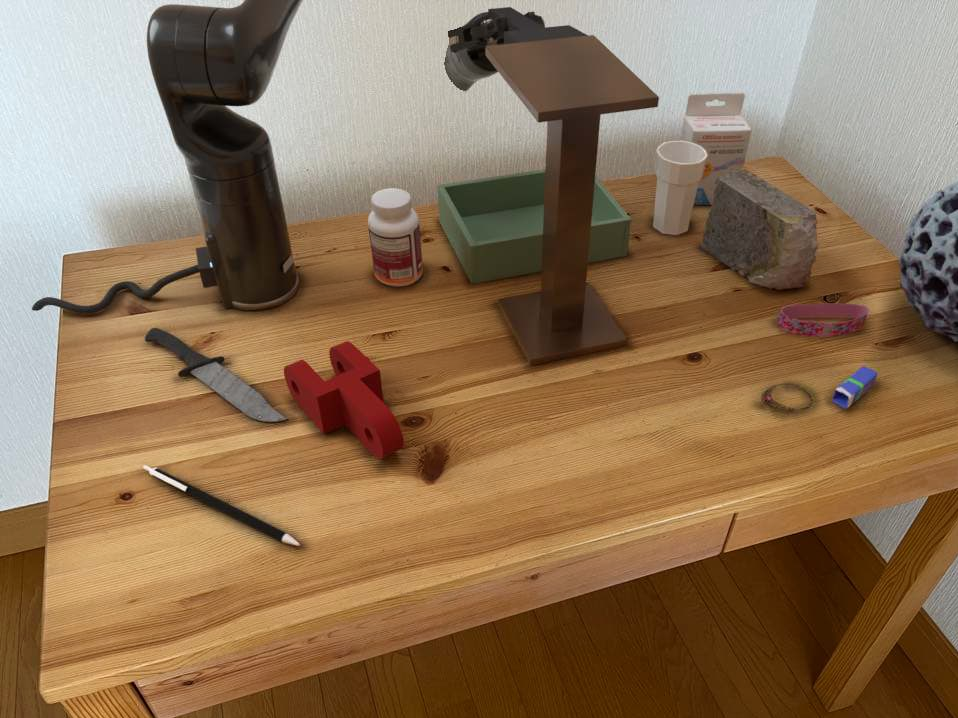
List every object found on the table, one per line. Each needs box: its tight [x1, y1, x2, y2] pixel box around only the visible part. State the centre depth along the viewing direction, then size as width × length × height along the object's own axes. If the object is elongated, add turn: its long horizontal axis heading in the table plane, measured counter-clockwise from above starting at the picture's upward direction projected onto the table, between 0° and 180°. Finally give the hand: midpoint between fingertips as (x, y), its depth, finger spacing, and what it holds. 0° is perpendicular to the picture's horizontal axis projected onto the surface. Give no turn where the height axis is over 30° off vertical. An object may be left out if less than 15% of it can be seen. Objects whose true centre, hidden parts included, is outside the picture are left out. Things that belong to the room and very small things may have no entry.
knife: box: [144, 327, 288, 423], centre depth 94 cm, size 22×1×5 cm
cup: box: [652, 140, 708, 236], centre depth 117 cm, size 7×7×11 cm
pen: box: [142, 464, 301, 547], centre depth 81 cm, size 1×19×1 cm
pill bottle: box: [367, 187, 424, 287], centre depth 106 cm, size 6×6×11 cm
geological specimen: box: [699, 168, 819, 291], centre depth 110 cm, size 11×6×15 cm
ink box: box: [679, 92, 752, 206], centre depth 121 cm, size 8×5×15 cm, turn 98°
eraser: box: [832, 365, 878, 410], centre depth 95 cm, size 2×6×2 cm
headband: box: [776, 303, 870, 338], centre depth 104 cm, size 11×4×2 cm, turn 94°
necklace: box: [760, 383, 813, 413], centre depth 94 cm, size 4×6×1 cm
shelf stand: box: [486, 34, 660, 367], centre depth 94 cm, size 12×16×30 cm
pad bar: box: [487, 6, 589, 44], centre depth 101 cm, size 8×22×3 cm, turn 20°
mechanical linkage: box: [283, 340, 405, 460], centre depth 88 cm, size 16×7×5 cm, turn 39°
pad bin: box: [437, 168, 632, 285], centre depth 115 cm, size 22×16×6 cm
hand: (519, 22), depth 103 cm, fingers closed on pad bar, 3 cm apart
